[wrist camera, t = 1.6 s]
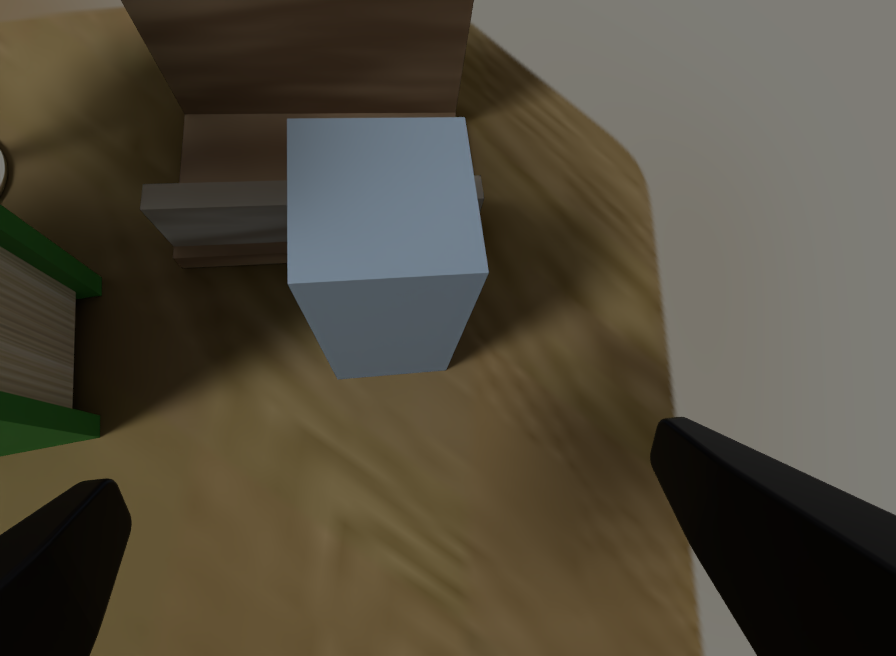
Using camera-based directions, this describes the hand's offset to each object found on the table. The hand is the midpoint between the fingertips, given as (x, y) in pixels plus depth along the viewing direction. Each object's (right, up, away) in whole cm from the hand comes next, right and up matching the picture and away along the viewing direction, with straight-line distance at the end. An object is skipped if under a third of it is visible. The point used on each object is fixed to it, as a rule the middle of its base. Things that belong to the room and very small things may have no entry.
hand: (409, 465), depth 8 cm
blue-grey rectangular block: (-2, +3, +14) cm, 15 cm away
